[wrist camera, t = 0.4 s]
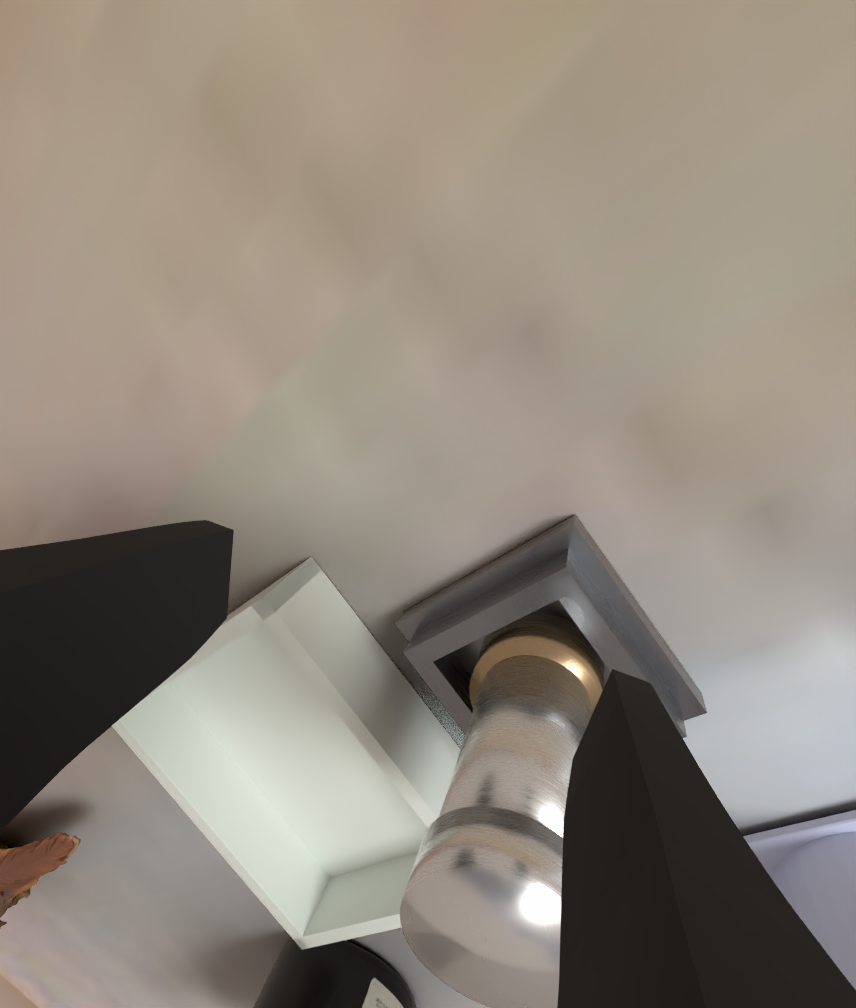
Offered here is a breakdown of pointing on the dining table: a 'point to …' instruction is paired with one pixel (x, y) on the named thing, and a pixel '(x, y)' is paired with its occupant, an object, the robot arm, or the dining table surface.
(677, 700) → the socket base
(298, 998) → the ink bottle
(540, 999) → the silver rounded piece
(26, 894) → the bird sculpture
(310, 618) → the tray
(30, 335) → the dining table surface
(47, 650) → the robot arm
